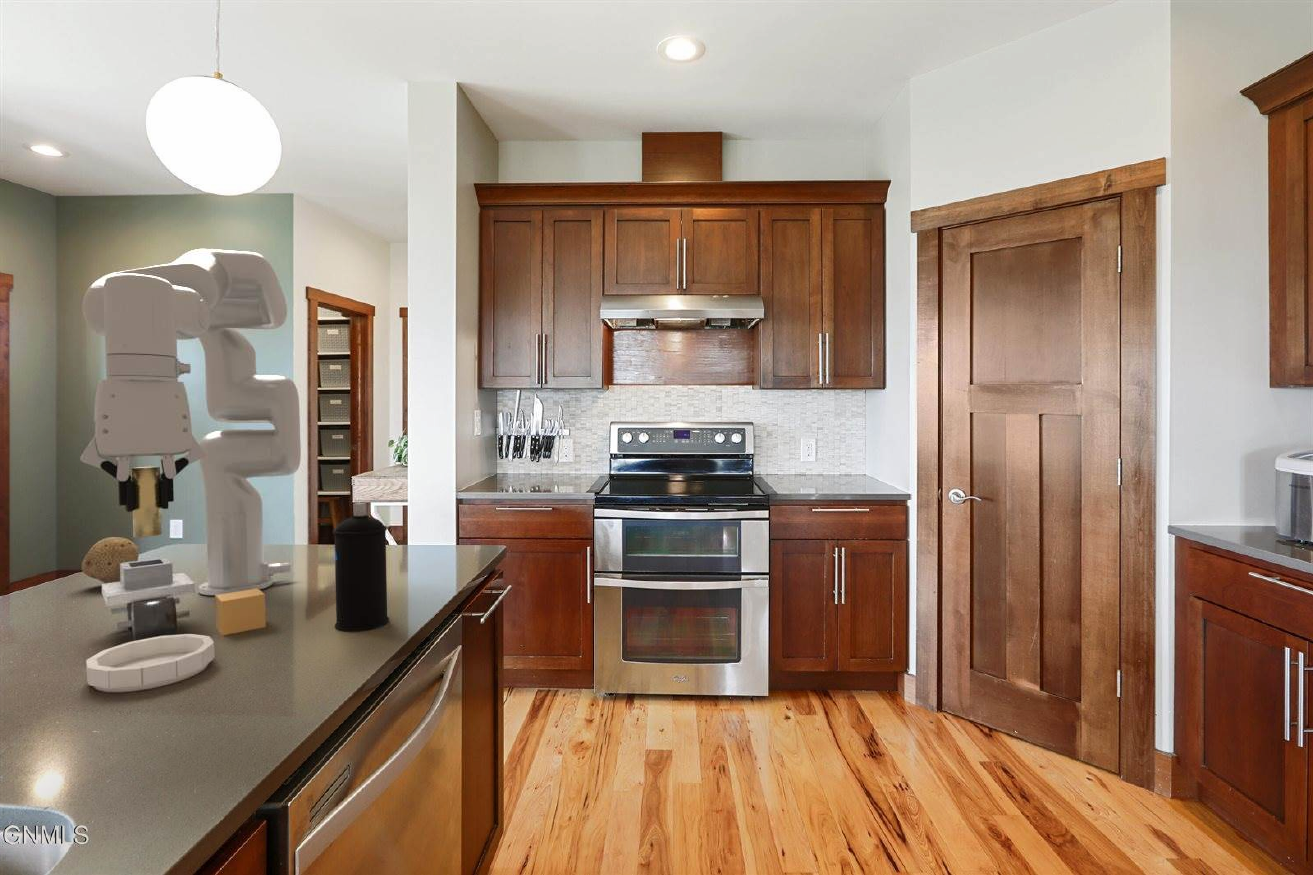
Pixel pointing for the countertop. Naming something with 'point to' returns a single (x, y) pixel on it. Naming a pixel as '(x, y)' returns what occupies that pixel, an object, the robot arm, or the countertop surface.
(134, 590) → the white stand
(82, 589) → the countertop surface
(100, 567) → the natural sponge
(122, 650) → the dish
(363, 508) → the aerosol can
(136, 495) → the pin
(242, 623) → the orange cube
